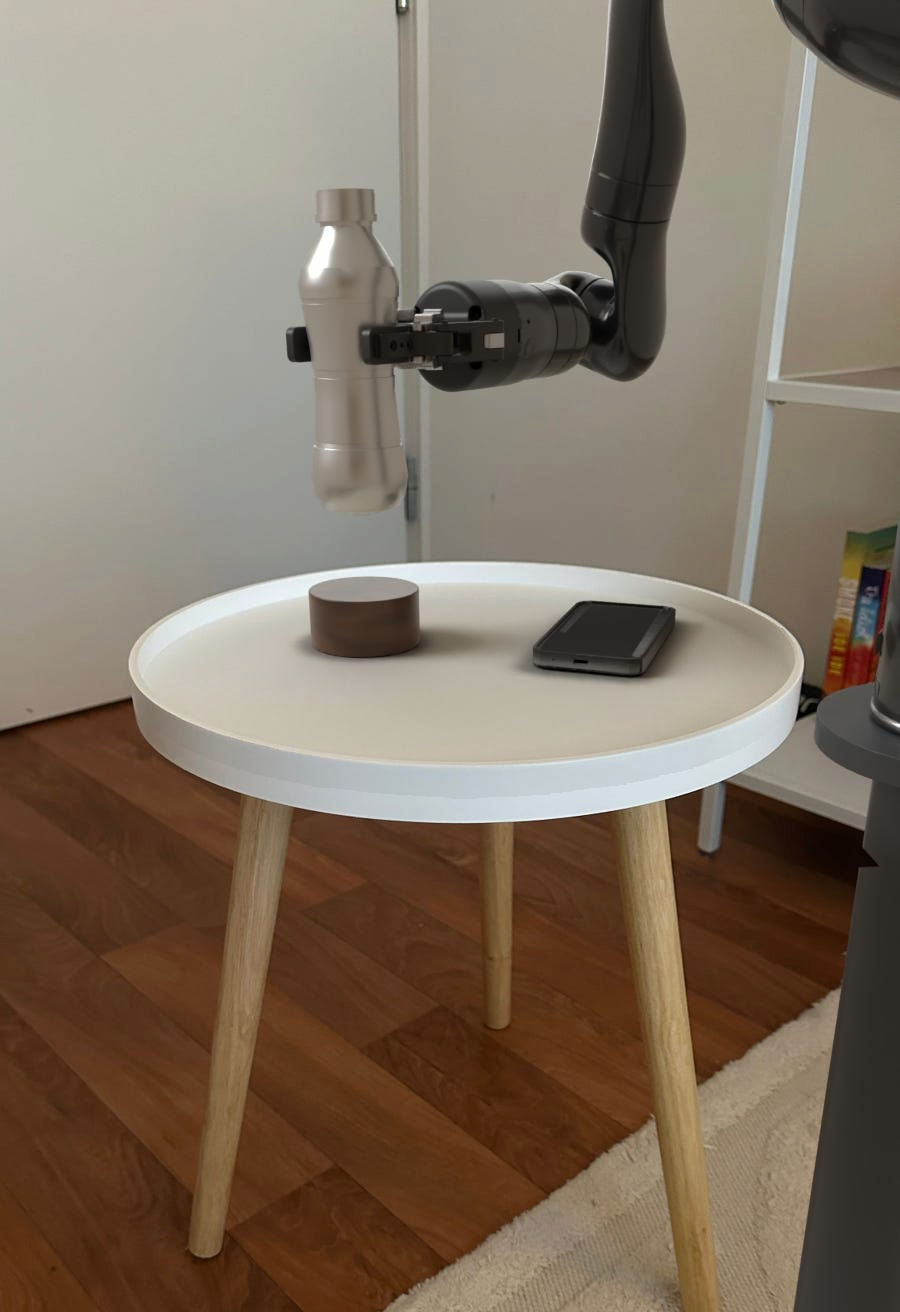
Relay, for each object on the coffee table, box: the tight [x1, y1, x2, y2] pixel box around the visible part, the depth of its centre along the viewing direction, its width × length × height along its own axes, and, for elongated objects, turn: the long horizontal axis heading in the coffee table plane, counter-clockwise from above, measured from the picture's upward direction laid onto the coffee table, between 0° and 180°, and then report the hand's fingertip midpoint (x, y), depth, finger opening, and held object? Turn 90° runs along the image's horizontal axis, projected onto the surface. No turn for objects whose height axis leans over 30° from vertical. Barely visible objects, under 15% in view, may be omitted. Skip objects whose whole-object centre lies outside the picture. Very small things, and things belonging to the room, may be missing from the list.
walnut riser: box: [308, 575, 421, 658], centre depth 85 cm, size 8×8×4 cm
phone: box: [531, 600, 677, 676], centre depth 84 cm, size 8×1×15 cm
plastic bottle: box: [297, 187, 409, 517], centre depth 77 cm, size 6×7×20 cm
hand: (327, 345), depth 75 cm, fingers closed on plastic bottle, 6 cm apart
